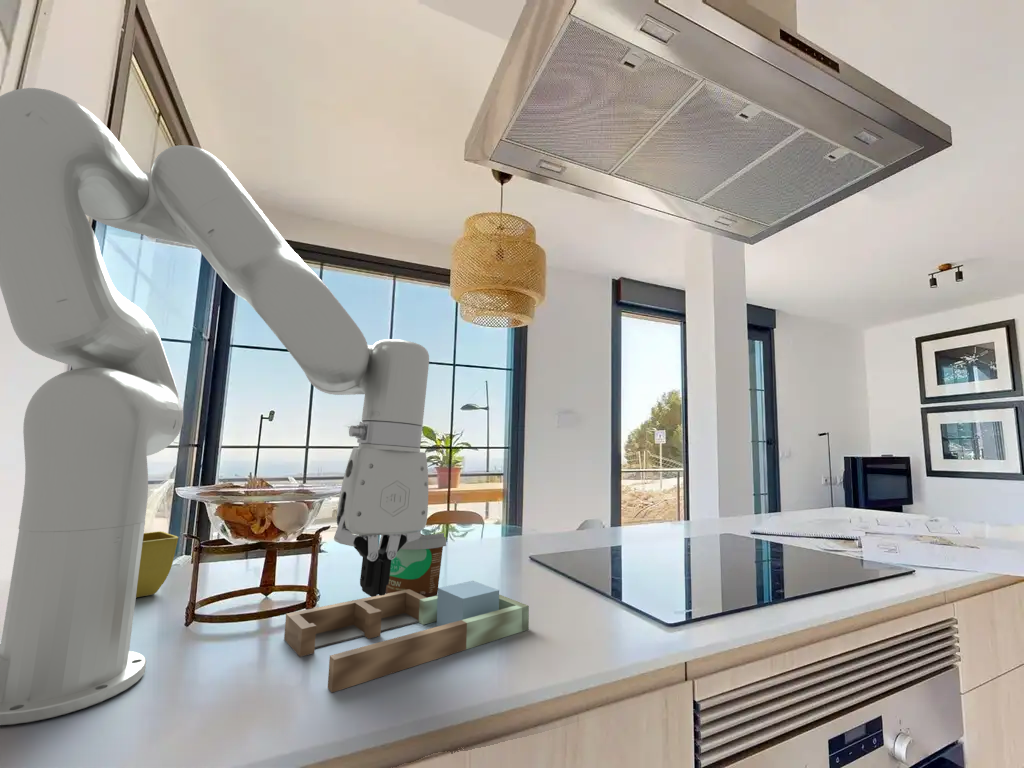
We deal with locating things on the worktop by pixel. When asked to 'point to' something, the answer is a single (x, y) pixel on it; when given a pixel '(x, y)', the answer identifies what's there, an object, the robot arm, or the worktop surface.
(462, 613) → the block
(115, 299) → the robot arm
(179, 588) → the worktop surface
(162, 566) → the flower pot
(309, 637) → the wood and green frame
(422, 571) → the food container
